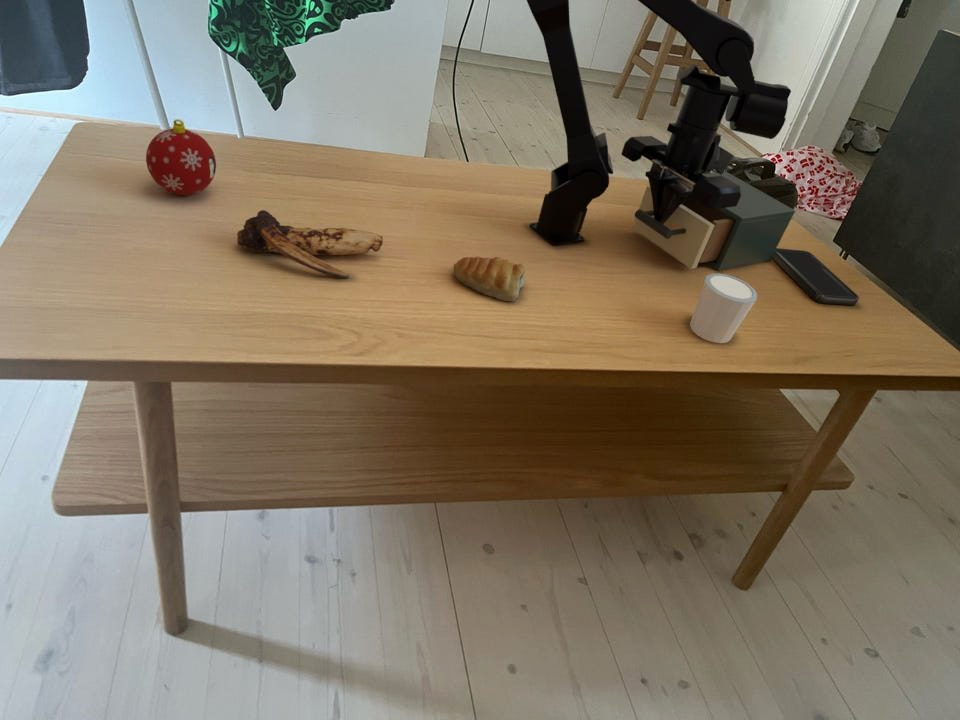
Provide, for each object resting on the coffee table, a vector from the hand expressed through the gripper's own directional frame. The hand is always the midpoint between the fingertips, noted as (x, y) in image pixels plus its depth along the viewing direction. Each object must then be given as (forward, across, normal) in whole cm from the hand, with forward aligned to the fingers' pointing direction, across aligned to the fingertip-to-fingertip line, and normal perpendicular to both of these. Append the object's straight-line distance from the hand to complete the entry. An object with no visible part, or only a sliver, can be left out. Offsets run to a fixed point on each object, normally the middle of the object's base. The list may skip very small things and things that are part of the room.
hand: (658, 224), depth 103 cm
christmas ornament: (+6, +32, +60) cm, 69 cm away
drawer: (+4, 0, -6) cm, 8 cm away
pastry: (+6, -1, +30) cm, 31 cm away
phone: (+5, -14, -24) cm, 29 cm away
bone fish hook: (+5, +11, +50) cm, 52 cm away
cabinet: (+5, 0, -16) cm, 16 cm away
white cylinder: (+5, -19, +7) cm, 21 cm away
